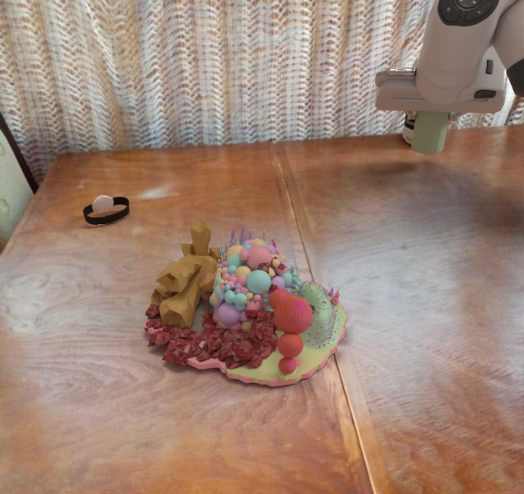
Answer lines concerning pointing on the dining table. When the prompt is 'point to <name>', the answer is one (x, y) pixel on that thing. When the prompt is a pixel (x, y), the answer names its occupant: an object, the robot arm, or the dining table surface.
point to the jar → (430, 132)
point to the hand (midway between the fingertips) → (432, 116)
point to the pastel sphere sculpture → (243, 312)
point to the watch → (105, 209)
